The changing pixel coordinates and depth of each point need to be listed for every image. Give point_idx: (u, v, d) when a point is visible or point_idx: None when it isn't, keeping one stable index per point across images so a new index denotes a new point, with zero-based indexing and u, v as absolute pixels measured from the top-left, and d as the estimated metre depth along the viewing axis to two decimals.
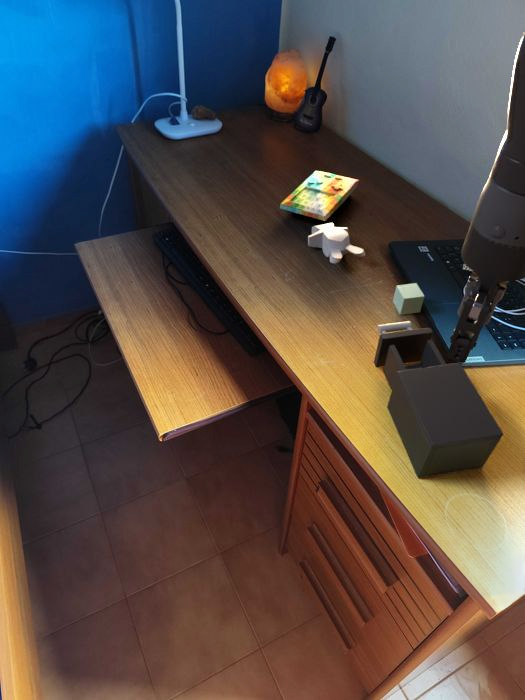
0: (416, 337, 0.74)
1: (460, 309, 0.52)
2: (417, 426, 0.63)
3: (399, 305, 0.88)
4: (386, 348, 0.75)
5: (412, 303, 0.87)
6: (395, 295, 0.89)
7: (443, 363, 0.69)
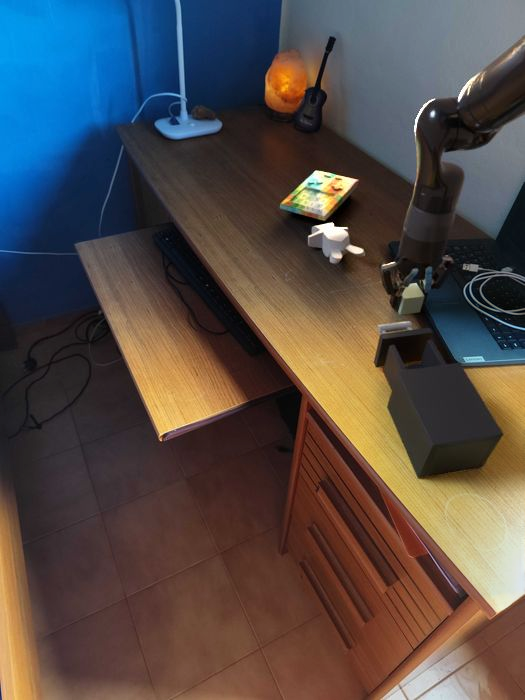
0: (416, 337, 0.74)
1: (396, 273, 0.85)
2: (417, 426, 0.63)
3: None
4: (386, 348, 0.75)
5: (412, 303, 0.87)
6: None
7: (443, 363, 0.69)
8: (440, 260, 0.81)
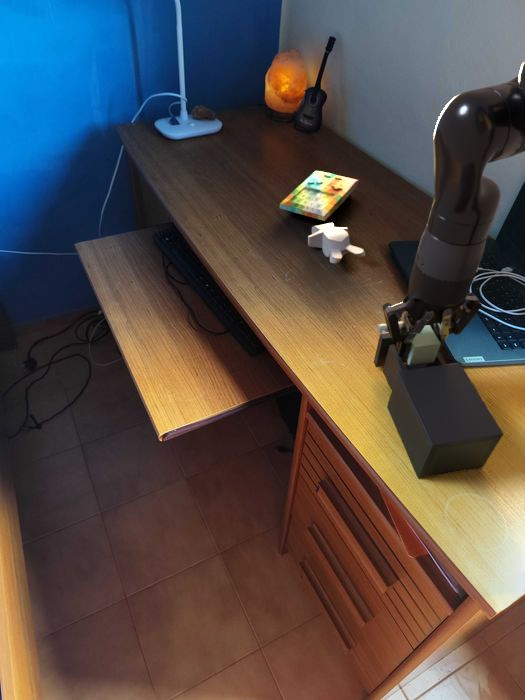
0: None
1: (405, 315, 0.67)
2: (417, 426, 0.63)
3: None
4: (386, 348, 0.75)
5: (425, 352, 0.68)
6: None
7: (443, 363, 0.69)
8: (462, 300, 0.63)
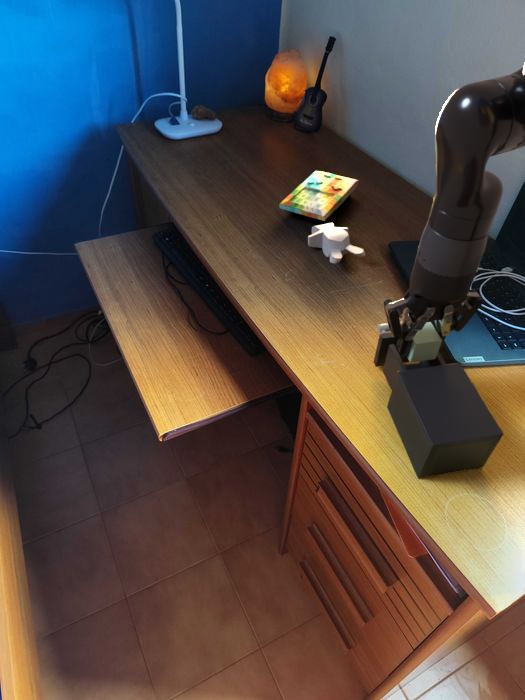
0: None
1: (406, 311, 0.66)
2: (417, 426, 0.63)
3: None
4: (386, 347, 0.75)
5: (426, 349, 0.67)
6: None
7: (443, 362, 0.70)
8: (464, 297, 0.62)
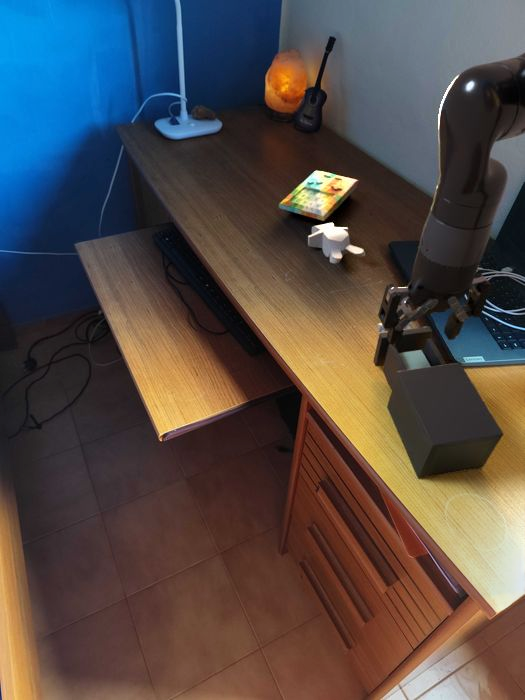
0: (415, 336, 0.74)
1: (403, 300, 0.65)
2: (417, 426, 0.63)
3: None
4: (385, 347, 0.75)
5: None
6: None
7: (442, 362, 0.70)
8: (466, 287, 0.61)
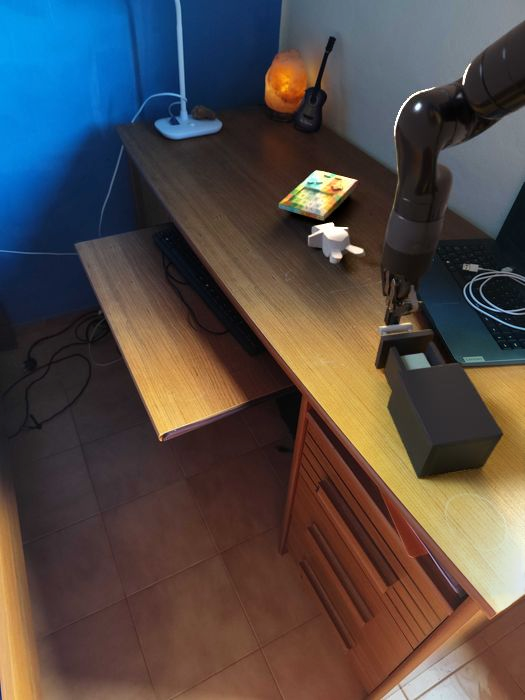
0: (417, 339, 0.74)
1: (392, 300, 0.74)
2: (417, 426, 0.63)
3: None
4: (387, 350, 0.74)
5: None
6: None
7: None
8: None
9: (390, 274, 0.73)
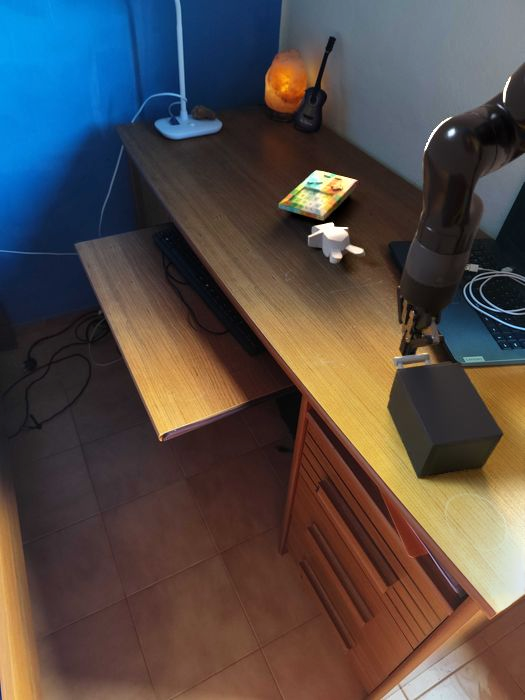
0: None
1: (410, 331, 0.69)
2: (417, 426, 0.63)
3: None
4: None
5: None
6: None
7: None
8: None
9: (408, 303, 0.68)
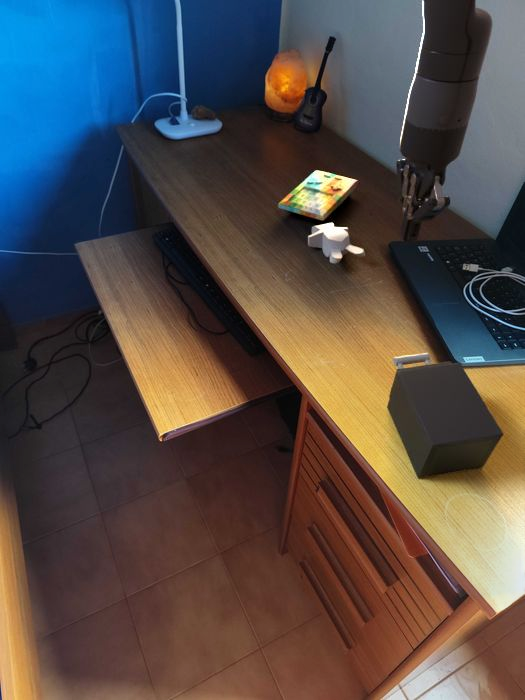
0: None
1: (412, 202, 0.62)
2: (417, 426, 0.63)
3: None
4: None
5: None
6: None
7: None
8: None
9: (409, 169, 0.62)
